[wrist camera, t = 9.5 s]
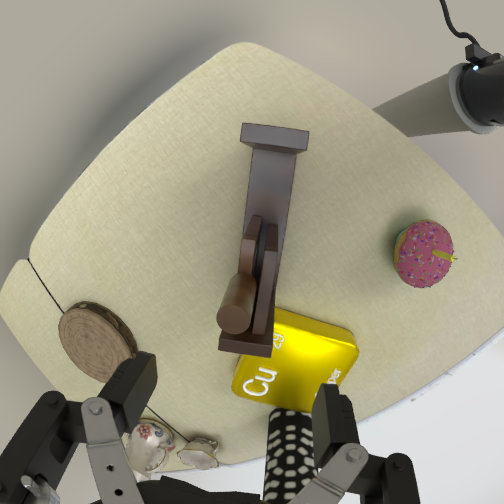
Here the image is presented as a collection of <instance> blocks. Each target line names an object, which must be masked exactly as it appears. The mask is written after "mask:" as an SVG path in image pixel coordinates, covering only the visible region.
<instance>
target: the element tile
mask: <svg viewBox="0 0 504 504" xmlns="http://www.w3.org/2000/svg"><path fill="white" fill-rule="evenodd" d="M358 356H359V350H358V347H357V344H356V341H355V339H354V336H353V334H352V333H351V332H350V331H349V330H347V329H344V328H340V327H337V326H334V325H330V324H327V323H324V322H321V321H317V320H314V319H311V318H308V317H304V316H301V315H298V314H295V313H292V312H289V311H286V310H283V309H280V308H276V307H275V313H274V337H273V349H272V354H271V358H265V357H258V356H251V355H244V354H241V356H240V359H239V361H238V363H237V366H236V368H235V372H234V377H233V381H232V386H231V387H232V391H233V392H234V394H236V395H237V396H239V397H242V398H246V399H249V400H253V401H256V402H260V403H264V404H268V405H272V406H276V407H280V408H284V409H289V410H293V411H298V412H303V413H311V411H312V405H313V402H314V400H315V397H316V395H317V392H318V390H319V387H320V385H321V383H328V384H337V385H338V387H339V385H340V384H341V382H342V381H343V379H344V378H345V377H346V375H347V374H348V372H349V371H350V369H351V368H352V366H353V365H354V363H355V362H356V360H357V358H358Z"/></svg>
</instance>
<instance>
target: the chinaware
mask: <svg viewBox="0 0 504 504" xmlns="http://www.w3.org/2000/svg"><path fill="white" fill-rule="evenodd" d="M127 434H128V433H127ZM172 438H173V434H172V432H171V431H170V429H169V428H167V427H166V426H165V425H163V424H162V423H160V422H157V421H155V420H152V419H140V420H139V421H138V422H137V424H136V426H135V428H134V430H133V432H132V434H128V439H129V443H128V444H127V446H126V448H125V450H126V453H127V456H128V459H129V461H130V464H131V467H132V469H133V472H134V474H135V476H136V479H137V481H138V482H142V481H147V480H150V479H151V473H157V472H158V471H159V470H161V469H162V468H163V467H164V466H165V465H166V463H167V461H168V459H169V453H170V452H171V451H172V450H173V449H174V448H175V443H174V441H173V439H172ZM215 443H217V444H218V445H217V448H216V449H215V451H214V449H213V448H212V446H210V445H213V444H215ZM219 446H220V445H219V443H218V442H217V441H215V442H213V443H212V441H208V440H207V439H205V438H196V439H195V441H192V442H190V443H188V444H187V445H186V446H185V447H184V448H183V449H182V450H180V451H178V452H177V456H179V457H180V459H181V461H182V462H183V463H184V464H186V465H188V466H194V465H195V467H197V468H198V469H202V470H208V469H210V468H212V467H214V468H216V467H218V466H219V464H218V461H217V459H216V454H215V453H216V452H217V451H218V449H219ZM163 457H164V459H163V460H162V462H161V463H160V464H159V465H158V461H159V460H160V459H161V458H163Z"/></svg>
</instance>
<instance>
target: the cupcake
mask: <svg viewBox="0 0 504 504" xmlns="http://www.w3.org/2000/svg"><path fill="white" fill-rule="evenodd" d="M453 252H454V250H453V243H452V240H451V237H450V234H449V233H448V231H447V230H446V229H445V228H444V227H443V226H441V225H440V224H438V223H437V222H434V221H431V220H422V221H420V222H416V223H413V224H412V225H411V226H410V227H409V228H406V229H404V230H403V231H402V232H401V233H400V234H399V235H398V237H397V239H396V243H395V249H394V262H395V265H394V266H395V270H396V272H397V273H398V275H399V276H400V278H401V279H402V280H403V281H404V282H406V283H407V284H409V285H411V286H413V287H414V288H415V287H417V288H424V287H431V286H432V285H434V284H435V283H438V282H439V281H440V280H441V279H442V278H443V277H444V276H445V275H446V273H447V272H448V271H449V268H450V267H451V266H450V265H451V263H452V262H454V261H455V260H457V259H458V258H455V256H453Z"/></svg>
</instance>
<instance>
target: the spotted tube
mask: <svg viewBox="0 0 504 504" xmlns="http://www.w3.org/2000/svg"><path fill="white" fill-rule="evenodd" d="M317 474H318V468H314V451H313V433H312V418H311V413H303V412H298V411H293V410H289V409H284V408H280V407H278V408H276V409H275V410H273V411H272V412H271V414H270V416H269V425H268V440H267V453H266V466H265V478H264V490H263V501H265V502H268V503H270V504H288V503H289V502H290V501H291V500H292V499H293V498H294V497H295V496H296V495H297V494H298V493H299V492H300V491H301V490H302V489H303V488H304V487H305V486H306V485H307V484H308V483H309V482H310V481H311V480H312V479H313V478H314V477H315V476H316V475H317Z"/></svg>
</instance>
